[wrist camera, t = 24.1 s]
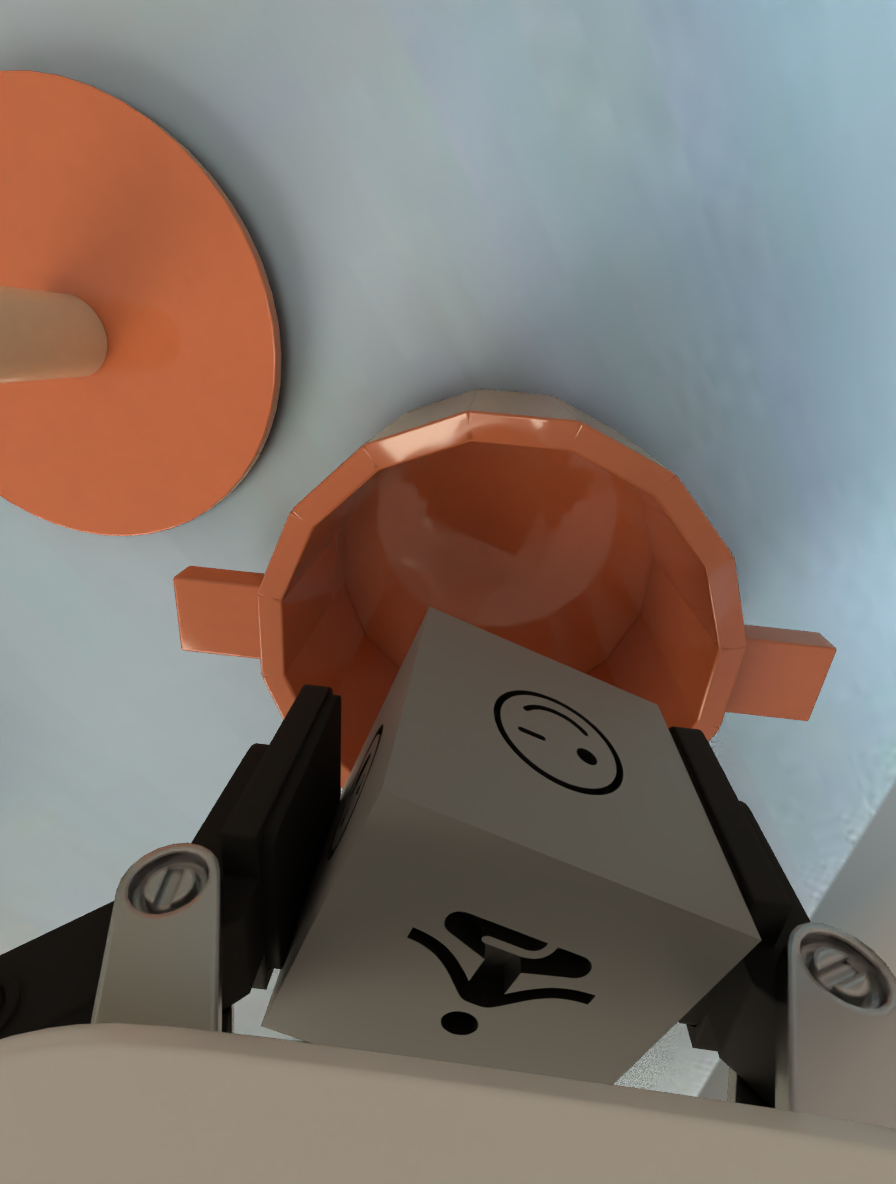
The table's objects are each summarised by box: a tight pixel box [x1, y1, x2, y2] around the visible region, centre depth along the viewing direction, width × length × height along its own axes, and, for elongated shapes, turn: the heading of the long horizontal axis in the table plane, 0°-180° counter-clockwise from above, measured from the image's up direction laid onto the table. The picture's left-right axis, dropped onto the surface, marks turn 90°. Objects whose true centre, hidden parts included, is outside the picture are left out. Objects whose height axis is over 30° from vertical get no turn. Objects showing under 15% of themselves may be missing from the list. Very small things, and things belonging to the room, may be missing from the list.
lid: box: [0, 70, 281, 536], centre depth 18 cm, size 14×14×6 cm
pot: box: [174, 389, 836, 789], centre depth 19 cm, size 13×18×8 cm
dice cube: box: [261, 607, 761, 1085], centre depth 10 cm, size 5×5×5 cm
